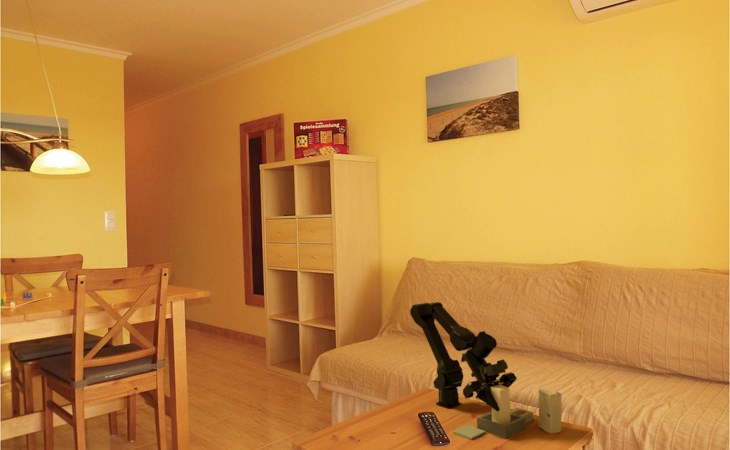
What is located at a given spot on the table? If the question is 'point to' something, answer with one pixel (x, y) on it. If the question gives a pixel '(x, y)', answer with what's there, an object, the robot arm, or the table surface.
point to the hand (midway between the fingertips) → (503, 409)
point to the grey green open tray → (516, 425)
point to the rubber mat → (469, 432)
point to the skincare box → (550, 410)
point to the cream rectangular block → (501, 404)
